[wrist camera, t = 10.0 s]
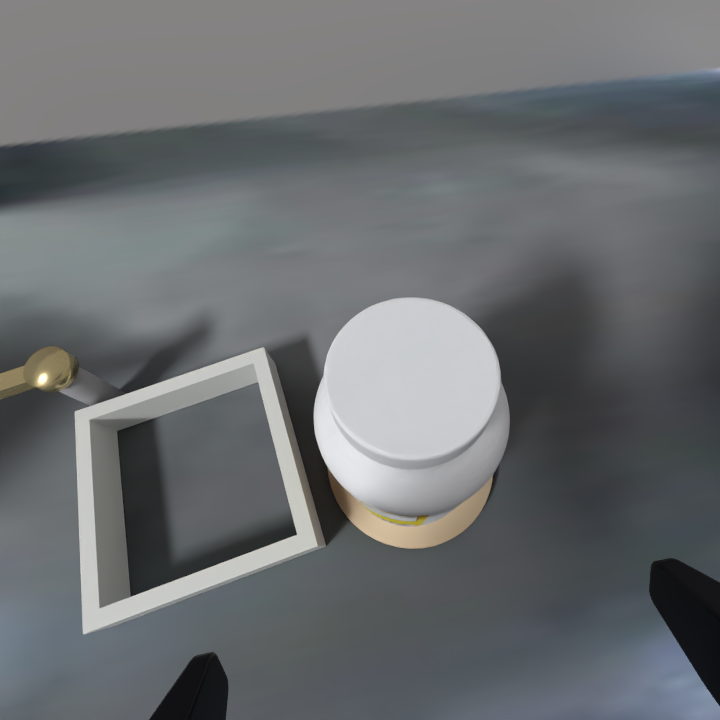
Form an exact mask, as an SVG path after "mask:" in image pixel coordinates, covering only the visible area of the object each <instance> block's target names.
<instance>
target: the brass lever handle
mask: <svg viewBox="0 0 720 720" xmlns="http://www.w3.org/2000/svg"><path fill="white" fill-rule="evenodd" d="M78 371H79V363H78V360H77V359H76V358H75V357H74V356H73V355H71V354H69V353H68V352H66V351H64V350H62V349H61V348H59V347H55V346H50V347H45V348H42V349H40V350H38V351H37V352H35V353H34V354H33V355H32V356H31V357H30V358H29V359H28V361H27V362H26V364H25V366H22V367H19V368H16V369H13V370H10V371H7V372H4V373H1V374H0V400H1V399H4V398H6V397H9V396H12V395H15V394H18V393H21V392H24V391H27V390H30V389H33V388H38V389H40V390H42V391H45V392H48V393H55V392H59V391H61V390H63V389H65V388H66V387H68V386H69V385H70V384H71V383H72V382H73V381H74V379H75V378H76V376H77V374H78Z"/></svg>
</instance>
